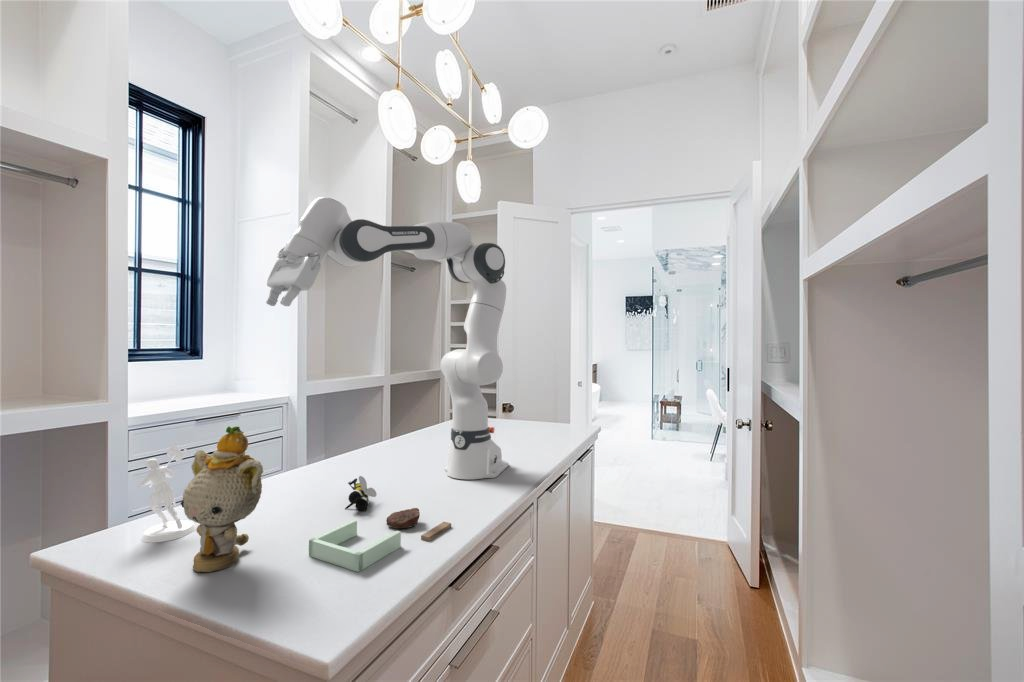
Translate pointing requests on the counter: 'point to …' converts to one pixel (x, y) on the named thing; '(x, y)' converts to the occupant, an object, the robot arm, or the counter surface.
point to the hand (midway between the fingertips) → (276, 305)
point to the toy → (360, 494)
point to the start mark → (435, 531)
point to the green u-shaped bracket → (348, 558)
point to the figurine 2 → (222, 499)
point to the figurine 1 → (164, 501)
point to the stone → (403, 518)
